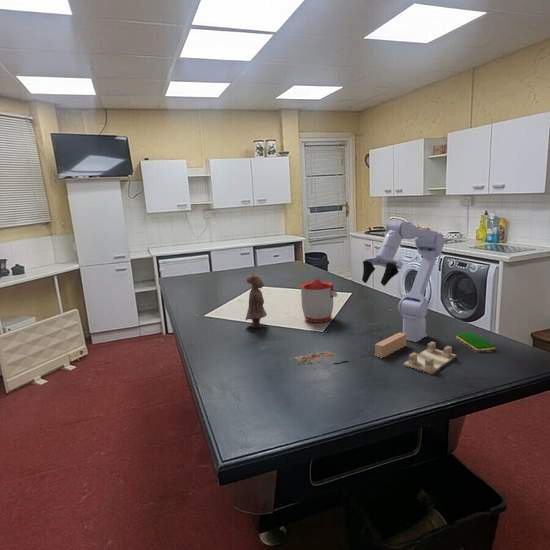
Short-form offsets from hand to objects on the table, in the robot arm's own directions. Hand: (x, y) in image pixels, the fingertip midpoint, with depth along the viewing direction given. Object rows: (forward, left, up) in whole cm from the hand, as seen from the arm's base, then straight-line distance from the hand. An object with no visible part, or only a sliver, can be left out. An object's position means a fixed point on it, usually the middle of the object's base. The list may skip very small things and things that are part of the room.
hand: (373, 282), depth 134 cm
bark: (+15, -14, -29) cm, 35 cm away
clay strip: (-10, +1, -29) cm, 30 cm away
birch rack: (-11, +16, -28) cm, 34 cm away
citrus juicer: (-20, -44, -29) cm, 56 cm away
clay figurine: (+6, -60, -29) cm, 67 cm away
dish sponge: (-36, +21, -29) cm, 51 cm away
